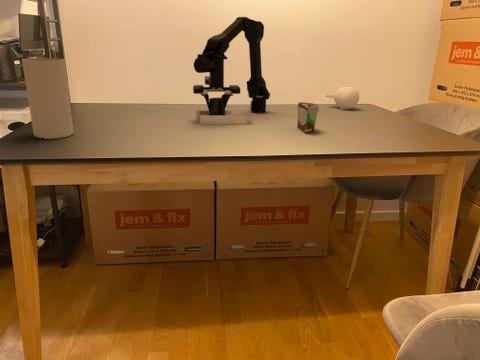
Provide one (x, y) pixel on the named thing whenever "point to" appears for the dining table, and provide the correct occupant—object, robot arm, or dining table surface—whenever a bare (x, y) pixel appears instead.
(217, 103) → the speaker
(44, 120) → the cylinder vase
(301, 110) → the food container
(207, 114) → the beige shallow tray
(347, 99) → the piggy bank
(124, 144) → the dining table surface
